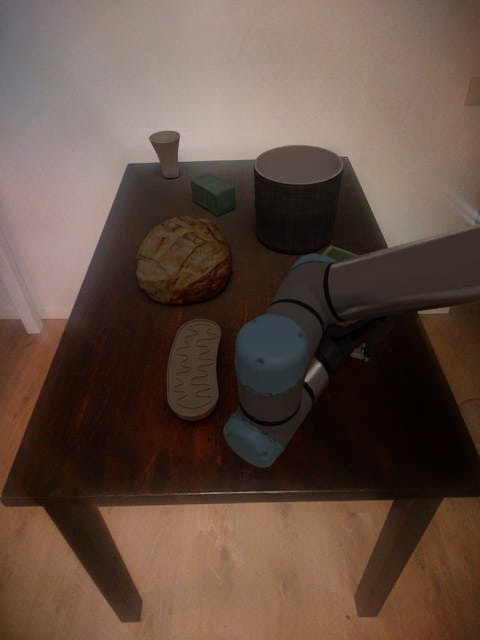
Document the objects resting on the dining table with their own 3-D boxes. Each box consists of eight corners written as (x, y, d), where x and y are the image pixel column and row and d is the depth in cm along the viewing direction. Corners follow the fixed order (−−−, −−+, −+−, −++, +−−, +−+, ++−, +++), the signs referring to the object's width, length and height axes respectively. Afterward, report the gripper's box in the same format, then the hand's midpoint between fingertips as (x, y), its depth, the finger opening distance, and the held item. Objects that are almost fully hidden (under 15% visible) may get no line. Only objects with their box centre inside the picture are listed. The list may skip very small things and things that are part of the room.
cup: (186, 180, 135) (180, 141, 125) (156, 183, 134) (148, 144, 124) (185, 167, 142) (179, 129, 132) (157, 170, 141) (149, 132, 131)
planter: (246, 219, 115) (243, 152, 101) (314, 206, 119) (321, 139, 104) (269, 262, 100) (270, 191, 86) (346, 246, 104) (360, 175, 89)
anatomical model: (220, 429, 68) (217, 415, 64) (164, 431, 68) (159, 416, 65) (223, 333, 84) (221, 317, 80) (178, 335, 84) (174, 319, 80)
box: (218, 217, 117) (216, 194, 111) (192, 201, 124) (189, 179, 119) (236, 208, 120) (235, 186, 114) (210, 194, 127) (208, 172, 122)
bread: (217, 239, 111) (210, 189, 101) (251, 291, 92) (246, 236, 82) (133, 260, 106) (117, 210, 96) (149, 321, 87) (131, 266, 77)
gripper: (252, 353, 61) (321, 276, 74) (366, 415, 53) (423, 317, 65) (251, 321, 56) (326, 244, 68) (377, 385, 48) (437, 283, 60)
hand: (373, 279), depth 67 cm, fingers closed on beverage can, 6 cm apart
